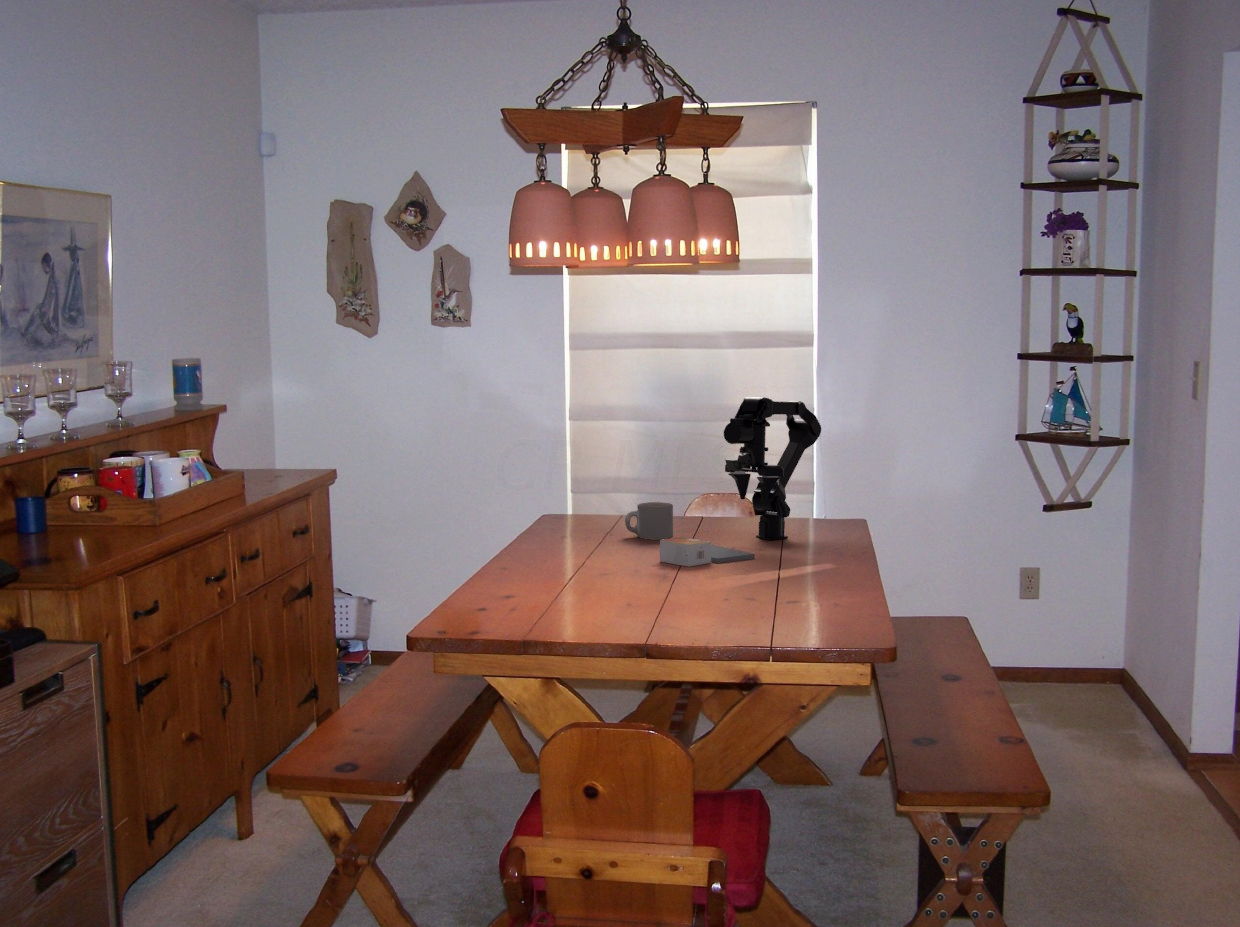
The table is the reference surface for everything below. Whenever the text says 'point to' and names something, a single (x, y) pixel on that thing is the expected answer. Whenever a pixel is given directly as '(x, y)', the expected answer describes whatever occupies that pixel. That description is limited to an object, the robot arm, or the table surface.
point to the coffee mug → (652, 520)
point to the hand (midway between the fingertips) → (752, 500)
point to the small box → (685, 551)
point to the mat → (728, 554)
